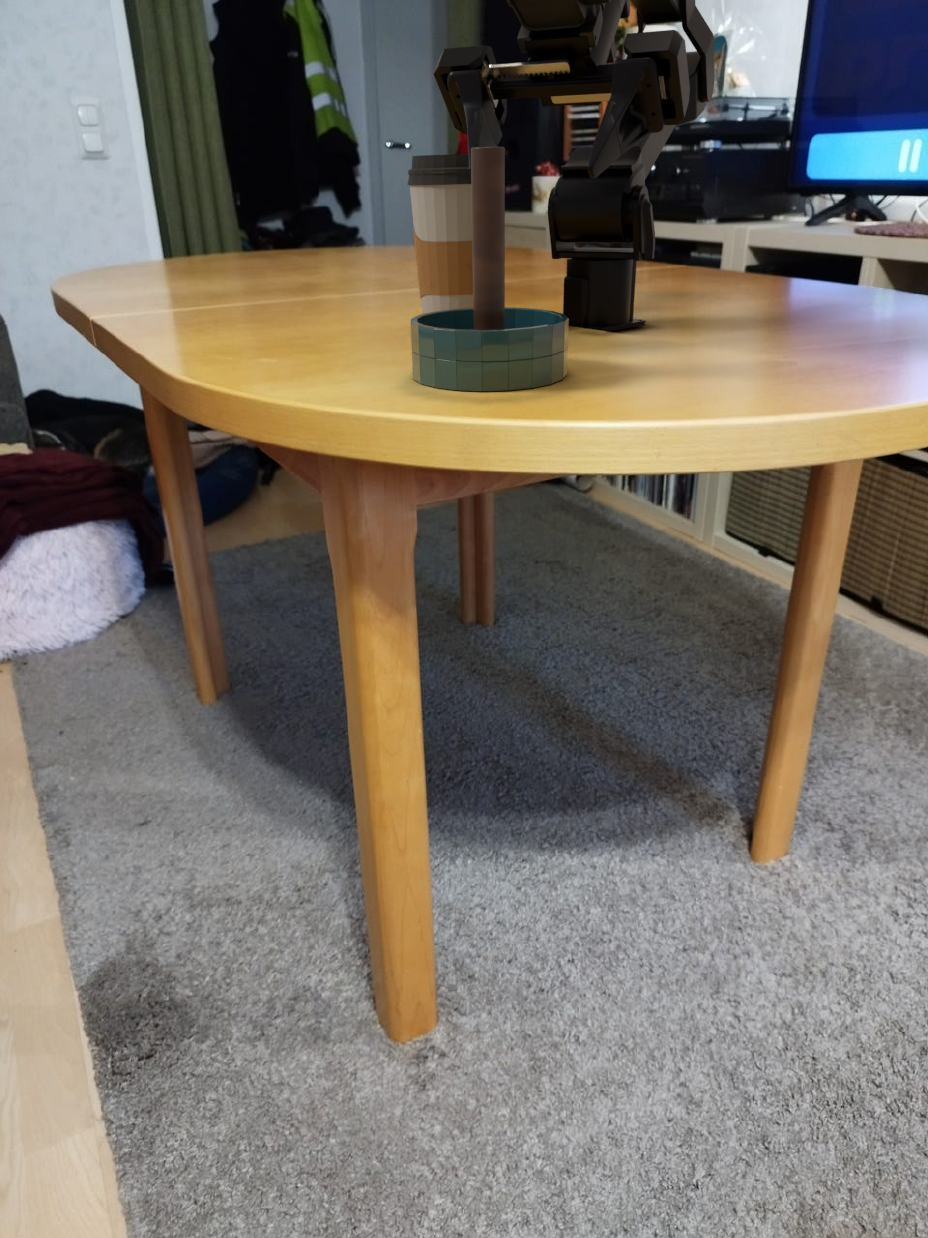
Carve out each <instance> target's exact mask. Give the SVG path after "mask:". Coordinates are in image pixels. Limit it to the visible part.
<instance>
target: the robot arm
mask: <svg viewBox="0 0 928 1238" xmlns="http://www.w3.org/2000/svg"><path fill="white" fill-rule="evenodd" d="M506 2H507V4H508V6H509V7H510V8H512V10H513V11H514V13H515V15H516V17H517V19H518V21H519V22H520V24H521V27H520V29H519V32H518V34H517V37H516V38H517V43H518V47H519V50H520V53H522V54H524V53H527V56H528V59H527V61H523V62H510V63H509V62H508V63H497V61H496V57H495V55H494V51H493V48H492V46H489V45H485V44H483V45H472V46H459V47H448V48H447V47H446V48H443V51H441V52H442V53H441V54H440V56H439V58H438V61H437V62H436V66H435V69H434V72H433V76H434V79H435V82H436V84H437V87H438V90H439V91H440V94H441V97H442V100H443V102H444V104H445V107H446V109H447V112H448V115H449V117H450V119H451V122H452V124H453V127H454V129H456V130H457V131H458V132H460V133H462V134H464V135H466V137H467V154H468V159H469V171H470V174H471V148H473V147H498V145H499V143H500V141H501V139H502V137H503V132H502V129H501V127H502V126H503V125H504V123H505V121H506V117H507V114H508V100H513V99H515V100H516V99H531V98H532V99H533V98H539V99H540V102H541V107H543V108H544V107H561V106H583V105H600V104H602V102H607V105H606V108H605V110H604V113H603V116H602V119H601V122H600V125H599V128H598V130H597V132H596V135H595V139H594V141H593V144H592V146H581V147H580V146H579V147H578V146H577V148H576V149H575V150H573V151H571V154H570V156H569V158H568V160H567V162H566V163H565V165H561V166H560V172H561V175H560V176H559V177H558V178H557V181H556V183H555V184H554V187H552V188H551V190H550V193H549V195H548V201H547V220H548V230H549V231H548V232H549V240H550V241H549V242H550V252H551V259H552V260H561V259H566V273H565V274H566V275H565V276H564V278H563V302H562V303H563V304H562V314H565V315H566V316H567V317H568V318H569V325H568V327H575V328H581V329H587V330H594V331H601V332H613V331H618V330H619V331H620V330H625V329H629V328H630V329H631V328H637V327H642V326H646V319H640V318H634V309H635V295H636V279H637V264H638V262H640V261H645V260H654V259H655V249H656V230H655V221H654V212H653V204H652V202H650V195H649V190H648V187H647V186H646V181H645V180H646V179H647V177H648V176H649V175H650V172H651V170H652V168H653V167H654V165H655V164H656V161H657V159H658V158H659V155H660V154H661V152H662V150H663V149H664V147H665V145H666V143H667V142H668V139H669V138H670V137H671V134H672V132H673V131H674V129H675V128H676V127H680V126H682V125H686V124H689V123H691V122H694V121H696V120H697V119H698V118H699V116H700V115H701V114H702V113H703V112H704V111H705V108H706V107H707V103H710V102H711V101H712V99H713V94H714V88H715V81H716V80H715V77H716V76H715V75H716V73H715V72H716V71H715V38H714V33H713V31H712V29H711V28H710V27H709V25H708V23H707V22H706V20H705V18H704V17H703V15H702V13H701V12H700V9H698V7H697V5H696V0H506ZM631 4H632V5H633V6H634V8H635V10H636V21H637V32H631V33H630V32H629V33H626V35H625V37H624V42H623V45H622V46H623V52H624V54H625V55H626V58H623V59H616V56H617V47H616V40H615V36H616V33H617V31H618V28H619V23H620V21H621V19H628V18H630V16H631ZM677 23H679V24H680V23H681V27H682V30H683V32H684V33H685V35H686V36H687V38H688V40H689V41H690V43H691V45H692V46H693V47H694V49H695V50H694V51H687V48H686V47H687V45H686V39H685V38H684V37H683V36H682V35H681V33H680V32H679V31H677V30H676V29H668V30H667V29H665V30H656V31H645V28H646V26H654V25H665V24H666V25H668V24H677ZM576 243H581V244H584V243H585V244H587V243H588V244H591V243H593V244H632V247H575V245H576Z"/></svg>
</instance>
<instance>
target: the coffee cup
mask: <svg viewBox="0 0 928 1238" xmlns="http://www.w3.org/2000/svg"><path fill="white" fill-rule="evenodd" d="M411 159H412V160H411V168H410V169H408V170H407V175H408V180H407V186H409V192H410V202H411V203H410V204H411V212H412V222H413V228H412V231H413V232H412V233H413V240H414V250H415V260H416V271H417V279H418V280H417V281H418V289H419V297H420V301H421V310H422V314H425V313H430V312H435V311H443V310H452V309H464V308H473V260H472V192H471V174H470V171H469V159H468V153H461V154H458V153H455V154H431V155H430V154H426V155H425V154H424V155H412V157H411Z"/></svg>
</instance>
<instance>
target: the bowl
mask: <svg viewBox="0 0 928 1238" xmlns="http://www.w3.org/2000/svg"><path fill="white" fill-rule="evenodd" d="M568 325H569V318H568V317H567V316H566V315H565V314H563V312H562V313H561V312H559V311H554V310H548V309H542V308H529V307H511V306H510V307H506V306H505V329H494V330H474V329H473V308H464V309H452V310H443V311H435V312H430V313H425V314H423V313H420V314H418V315H416V316H414V317H411V318H410V340H411V344H410V345H411V362H412V364H411V365H412V379H413V380H414V381H416V382H417V383H419V384H420V385H424V386H428V387H432V388H436V389H441V390H451V391H459V392H460V391H461V392H508V391H509V392H510V391H517V390H519V391H520V390H529V389H535V388H539V387H545V386H549V385H553V384H555V383H557V382H559V381H562V380H564V378H565V377H566V376H567V375H568V352H569V326H568Z"/></svg>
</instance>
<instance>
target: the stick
mask: <svg viewBox="0 0 928 1238" xmlns="http://www.w3.org/2000/svg"><path fill="white" fill-rule="evenodd" d="M471 192H472V260H473V329H474V330H494V329H505V307H506V305H505V304H506V303H505V302H506V295H505V294H506V292H505V291H506V285H505V284H506V283H505V281H506V274H505V273H506V268H505V267H506V265H505V263H506V255H505V254H506V251H505V249H506V240H505V239H506V228H505V227H506V148H505V146H497V147H473V148H471Z"/></svg>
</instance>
